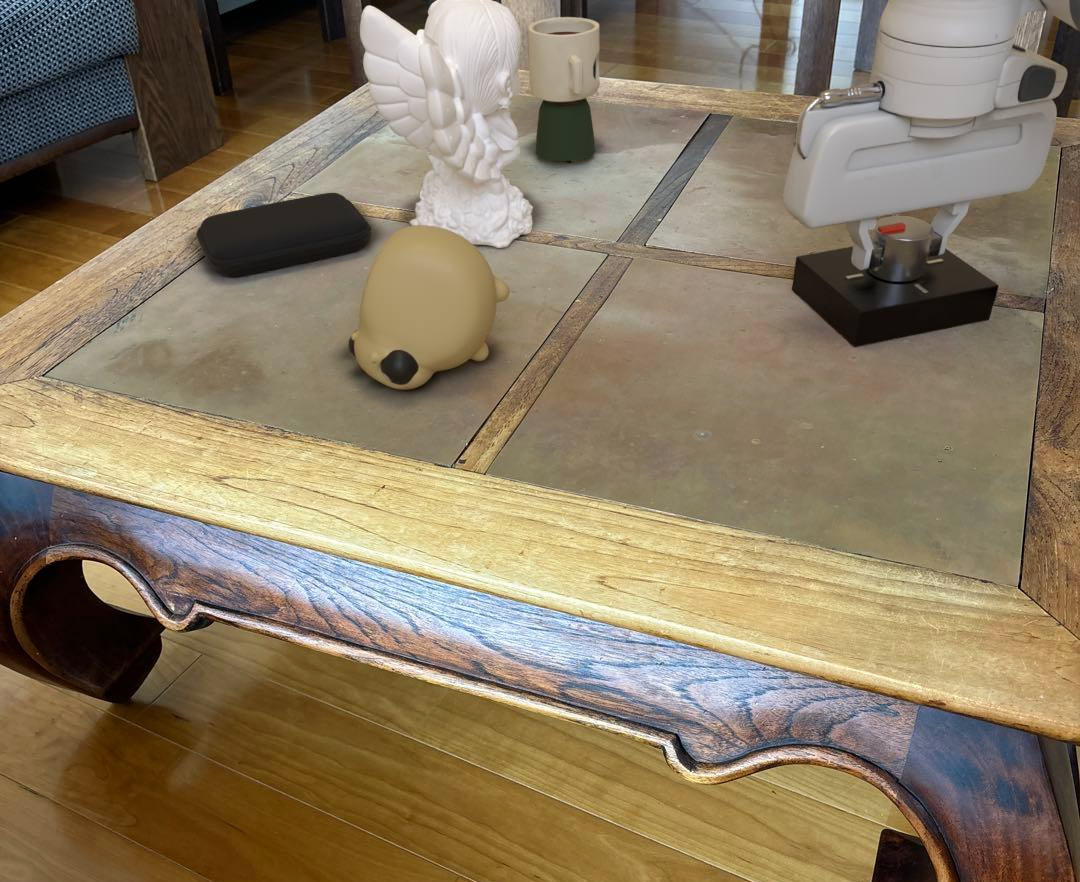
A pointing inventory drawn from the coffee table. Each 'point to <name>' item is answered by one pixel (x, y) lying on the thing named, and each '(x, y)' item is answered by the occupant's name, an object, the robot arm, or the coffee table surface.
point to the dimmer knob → (902, 248)
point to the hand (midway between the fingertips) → (897, 259)
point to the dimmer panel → (892, 296)
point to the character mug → (564, 85)
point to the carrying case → (282, 234)
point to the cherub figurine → (454, 111)
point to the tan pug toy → (425, 307)
